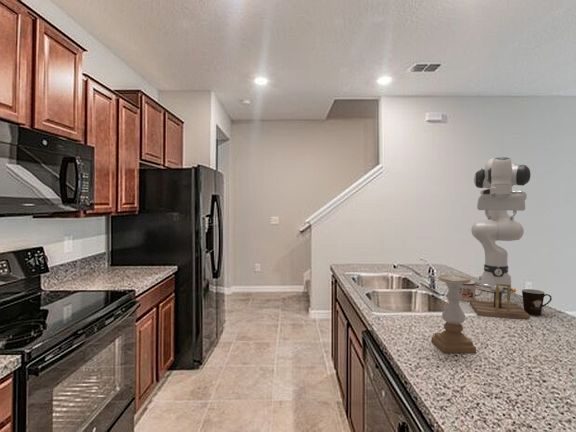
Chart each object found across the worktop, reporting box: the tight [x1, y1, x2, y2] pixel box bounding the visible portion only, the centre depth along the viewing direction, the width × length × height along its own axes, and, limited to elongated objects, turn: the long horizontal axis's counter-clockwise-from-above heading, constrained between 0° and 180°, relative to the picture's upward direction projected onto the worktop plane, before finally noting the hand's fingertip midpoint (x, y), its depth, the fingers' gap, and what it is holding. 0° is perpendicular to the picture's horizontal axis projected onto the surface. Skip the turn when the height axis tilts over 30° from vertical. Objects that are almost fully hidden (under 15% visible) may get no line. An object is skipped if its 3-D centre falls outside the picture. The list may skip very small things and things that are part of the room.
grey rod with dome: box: [474, 281, 517, 293], centre depth 180 cm, size 20×6×3 cm, turn 29°
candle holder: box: [431, 274, 477, 354], centre depth 134 cm, size 11×11×24 cm
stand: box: [469, 284, 530, 320], centre depth 178 cm, size 20×20×14 cm
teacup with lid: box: [460, 276, 483, 302], centre depth 199 cm, size 12×9×12 cm
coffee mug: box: [521, 288, 552, 316], centre depth 174 cm, size 12×9×10 cm
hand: (500, 220), depth 188 cm, fingers open, 8 cm apart
